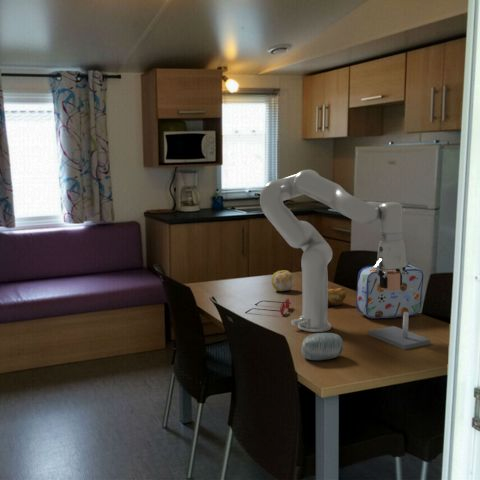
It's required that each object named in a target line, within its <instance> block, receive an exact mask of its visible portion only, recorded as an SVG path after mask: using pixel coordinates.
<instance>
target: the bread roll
mask: <svg viewBox="0 0 480 480" xmlns="http://www.w3.org/2000/svg"><path fill="white" fill-rule="evenodd" d="M346 298H347V290H346V288H345V287H338V288H328V307H330V306H331V307H338V306H342V305H343V303H344V300H345V299H346Z"/></svg>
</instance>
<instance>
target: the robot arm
mask: <svg viewBox="0 0 480 480" xmlns="http://www.w3.org/2000/svg"><path fill="white" fill-rule="evenodd" d="M303 195H305V196H307V197H309V198H312V199H313V200H315V201H317V202H319V203H322V204H324V205H325V206H328V207H329V208H331V209H332V210H333V211H336V212H338V213H339V214H341V215H343V216H344V217H347V218H349V219H350V220H353V221H355V222H356V223H359V224H361V225H366V226H369V225H372V224H374V223H375V222H379V225H380V226H379V228H380V229H379V231H380V232H379V235H378V238H379V239H380V241H379V242H378V246H377V254H376V255H377V257H376V258H377V260H376V263H375V264H374V265H373V266H374V268H373V269H374V270H375V271H376V273H377V274H378V276H379V277H380V287H381V288H385V289H386V288H387V277H386V275H387V272H388V270H394V269H395V271H399V272H400V286H401V285H402V275H403V273H404V270H405V267H406V266H407V264H408V263H409V262H408V261H407V258H406V257H407V256H406V254H407V252H406V245H405V241H404V240H403V205H402V203H400V202H396V201H387V202H380V201H370V200H369V201H364V200H362V199H359V198H357V197H355V196H353V195H352V194H350V193H349V192H347V190H345V189H344V188H343V187H342V186H341V185H340V184H338V183H336V182H334V181H331V180H330V179H328V178H325V177H323V176H321V175H320V174H319V172H317V171H315V170H314V169H313V170H312V169H303V170H300V171H299V172H297V173H296V174H292V175H290V176H286V177H282V178H280V179H273V180H271V181H269V182H267V183H265V185H264V186H263V187H262V189H261V192H260V195H259V204H260V205H259V206H260V208H261V210H262V213H263V214H264V216H265V217H266V218H267V220H268V221H269V222H270V223H271V224H272V226H273V227H274V228H275V230H276V231H277V232H278V233H279V234H280V235H281V236H282V238H283V239H284V240H285V242H286V243H287V244H288V245H289V246H290V247H291V248H293V249H301V250H302V251H303V252H302V256H301V259H300V262H301V263H300V264H301V276H302V277H301V279H302V280H301V281H302V282H301V283H302V286H301V288H302V290H301V291H302V293H301V294H302V297H301V298H302V299H301V302H302V304H301V305H302V306H301V315H299V317H298V318H297V319H291V321H290V324H291V326H296V325H297V327H298V329H299V330H302V331H305V332H311V333H324V332H327V331H329V330H331V329H332V324H331V322H329V321H328V307H329V306H328V290H329V288H328V287H329V286H328V285H329V279H328V278H329V277H328V276H329V275H328V264H329V263H330V262H331V260H332V259H333V255H334V254H333V250H332V247H331V246H330V244H329V243H328V242H327V241H326V239H325V238H324V237H323V236H322V234H320V232H319V231H318V230H317V229H316V228H315V227H314V226H313V225H312V224H311V223H310V222H309V221H306V220H299V219H298V218H297V217H296V216H295V215H294V213H293V211H291V210H290V209H289V207H287V206H286V205H285V203H284V201H286V200H290V199H293V198H296V197H300V196H303ZM408 265H409V264H408ZM379 268H380V269H379ZM383 270H384V273H383Z"/></svg>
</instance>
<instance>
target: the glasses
mask: <svg viewBox="0 0 480 480" xmlns="http://www.w3.org/2000/svg"><path fill="white" fill-rule="evenodd" d="M261 302H263V300H261V301H258V302H256V303H255V304H254V305H255V306H257V305H258V304H260V303H261ZM265 302H266V303H278V304H279V303H280V304H281V305H280V310H279V309H266V308H255V307H254V308H250V309H249V310H246V311H245V312H244V314H247V313H249V312H250V311H252V310H257V311H258V310H260V311H268V312H269V311H271V312H280V315H284V312H285V309H290V305H291V304H292V302H291V301H290V298H286V299H285V301H273V300H265Z"/></svg>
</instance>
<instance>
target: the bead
mask: <svg viewBox="0 0 480 480" xmlns="http://www.w3.org/2000/svg"><path fill="white" fill-rule="evenodd" d="M383 273H384V271H383ZM386 277H387V288H386V289H385V288H382V289H383V290H387V291H396V290H400V272H399V271H393V270H388V272H387V275H386Z"/></svg>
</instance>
